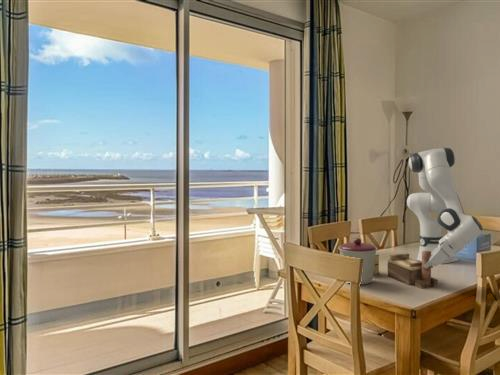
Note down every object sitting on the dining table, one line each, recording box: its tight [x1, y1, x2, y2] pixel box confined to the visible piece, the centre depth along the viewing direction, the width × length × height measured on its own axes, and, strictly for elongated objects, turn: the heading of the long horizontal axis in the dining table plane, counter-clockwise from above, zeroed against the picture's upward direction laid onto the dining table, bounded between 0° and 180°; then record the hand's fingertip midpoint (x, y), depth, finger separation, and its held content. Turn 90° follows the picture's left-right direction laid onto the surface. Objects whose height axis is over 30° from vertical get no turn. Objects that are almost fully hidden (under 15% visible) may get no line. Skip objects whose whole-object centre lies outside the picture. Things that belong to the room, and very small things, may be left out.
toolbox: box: [387, 261, 439, 289], centre depth 196 cm, size 12×22×7 cm, turn 18°
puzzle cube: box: [373, 253, 380, 276], centre depth 211 cm, size 10×10×10 cm
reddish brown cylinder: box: [421, 251, 432, 288], centre depth 187 cm, size 4×4×16 cm
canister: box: [337, 237, 378, 286], centre depth 195 cm, size 18×18×21 cm
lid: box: [387, 252, 434, 270], centre depth 197 cm, size 12×18×4 cm
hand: (424, 265), depth 187 cm, fingers open, 4 cm apart
